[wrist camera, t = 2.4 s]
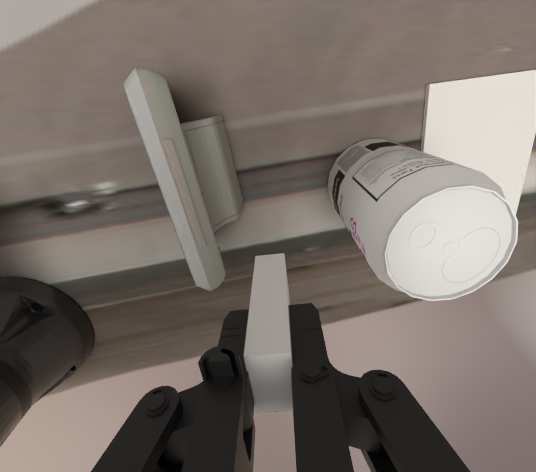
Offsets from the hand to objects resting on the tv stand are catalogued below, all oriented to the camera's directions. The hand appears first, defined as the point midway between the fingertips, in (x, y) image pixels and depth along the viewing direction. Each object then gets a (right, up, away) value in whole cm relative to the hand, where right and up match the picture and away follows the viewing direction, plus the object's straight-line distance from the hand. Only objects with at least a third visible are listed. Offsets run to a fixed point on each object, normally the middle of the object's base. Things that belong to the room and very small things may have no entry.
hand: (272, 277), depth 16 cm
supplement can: (+10, +8, +14) cm, 19 cm away
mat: (+20, +9, +13) cm, 25 cm away
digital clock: (-8, +9, +14) cm, 18 cm away
